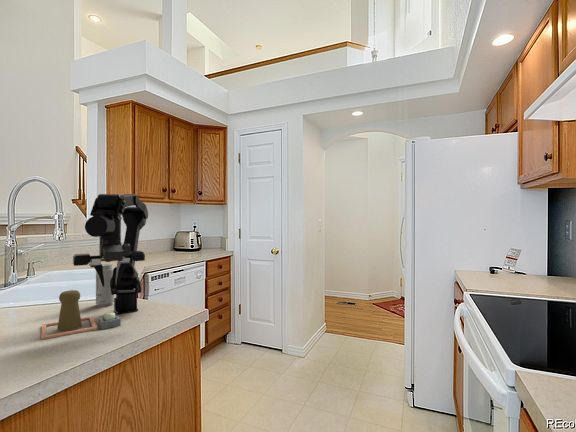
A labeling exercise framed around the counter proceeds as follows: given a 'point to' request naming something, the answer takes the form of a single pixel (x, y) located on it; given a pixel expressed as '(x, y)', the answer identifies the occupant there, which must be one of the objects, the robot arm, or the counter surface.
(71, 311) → the olive pepper mill
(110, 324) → the button box
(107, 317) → the button
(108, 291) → the energy drink can
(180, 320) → the counter surface
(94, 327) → the terracotta outline
